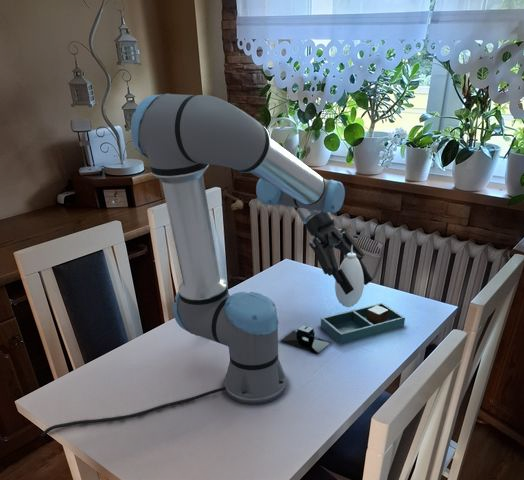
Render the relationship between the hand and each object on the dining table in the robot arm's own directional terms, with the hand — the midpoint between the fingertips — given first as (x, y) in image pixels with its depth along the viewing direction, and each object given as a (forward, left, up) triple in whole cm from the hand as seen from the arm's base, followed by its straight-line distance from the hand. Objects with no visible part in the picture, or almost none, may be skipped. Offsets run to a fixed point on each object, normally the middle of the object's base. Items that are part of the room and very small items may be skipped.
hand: (359, 287), depth 132 cm
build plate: (-15, +3, -15) cm, 22 cm away
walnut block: (+9, +3, -15) cm, 18 cm away
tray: (+4, +3, -15) cm, 16 cm away
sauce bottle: (-1, +3, -7) cm, 8 cm away
